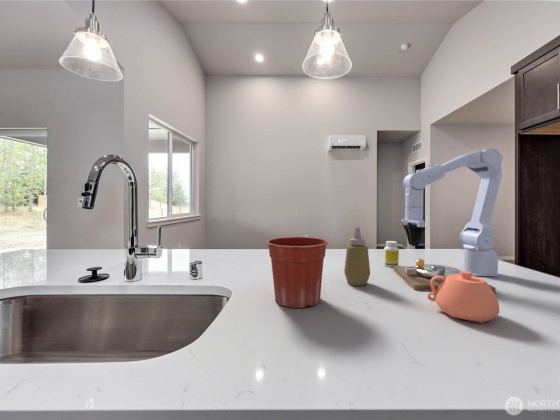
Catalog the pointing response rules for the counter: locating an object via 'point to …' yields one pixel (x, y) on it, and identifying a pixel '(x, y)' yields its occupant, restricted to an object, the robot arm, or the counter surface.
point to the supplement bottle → (391, 254)
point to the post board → (422, 279)
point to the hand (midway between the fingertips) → (413, 245)
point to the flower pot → (297, 270)
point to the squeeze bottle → (357, 261)
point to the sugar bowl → (465, 297)
